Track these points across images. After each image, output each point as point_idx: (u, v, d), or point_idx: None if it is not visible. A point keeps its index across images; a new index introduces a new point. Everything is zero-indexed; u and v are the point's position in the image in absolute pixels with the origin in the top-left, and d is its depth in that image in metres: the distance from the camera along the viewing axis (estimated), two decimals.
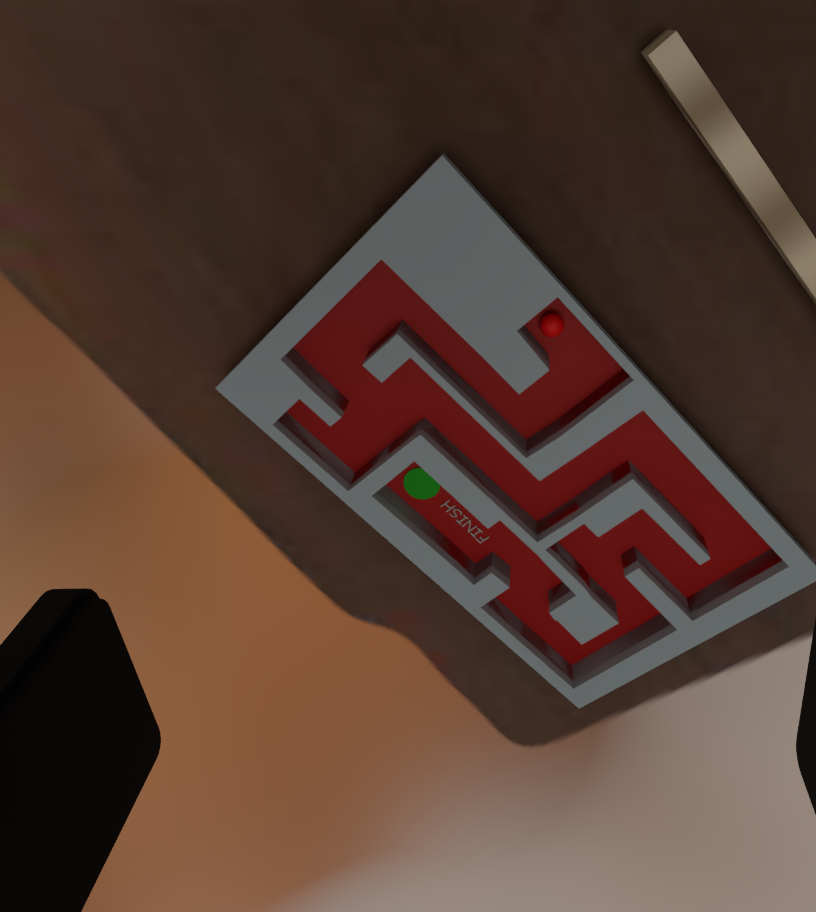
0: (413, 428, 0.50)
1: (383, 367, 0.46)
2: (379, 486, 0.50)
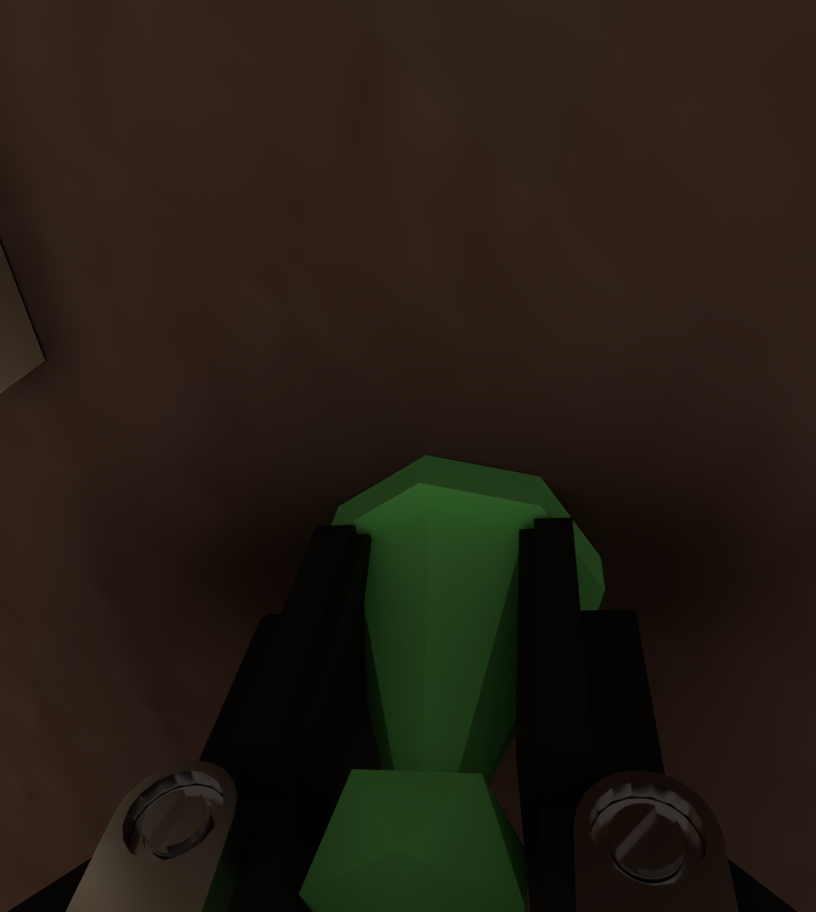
0: None
1: None
2: None
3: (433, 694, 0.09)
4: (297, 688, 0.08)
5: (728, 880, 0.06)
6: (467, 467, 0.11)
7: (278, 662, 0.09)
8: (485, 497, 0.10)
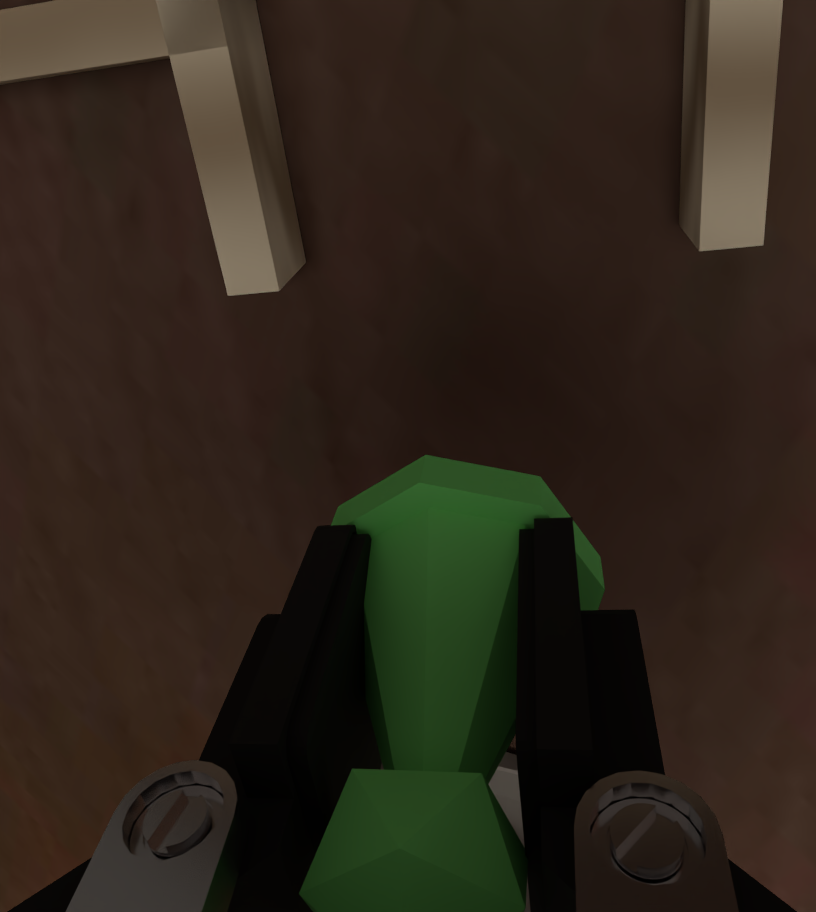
0: None
1: None
2: None
3: (433, 693, 0.09)
4: (297, 689, 0.08)
5: (728, 880, 0.06)
6: (467, 467, 0.11)
7: (278, 662, 0.09)
8: (485, 497, 0.10)
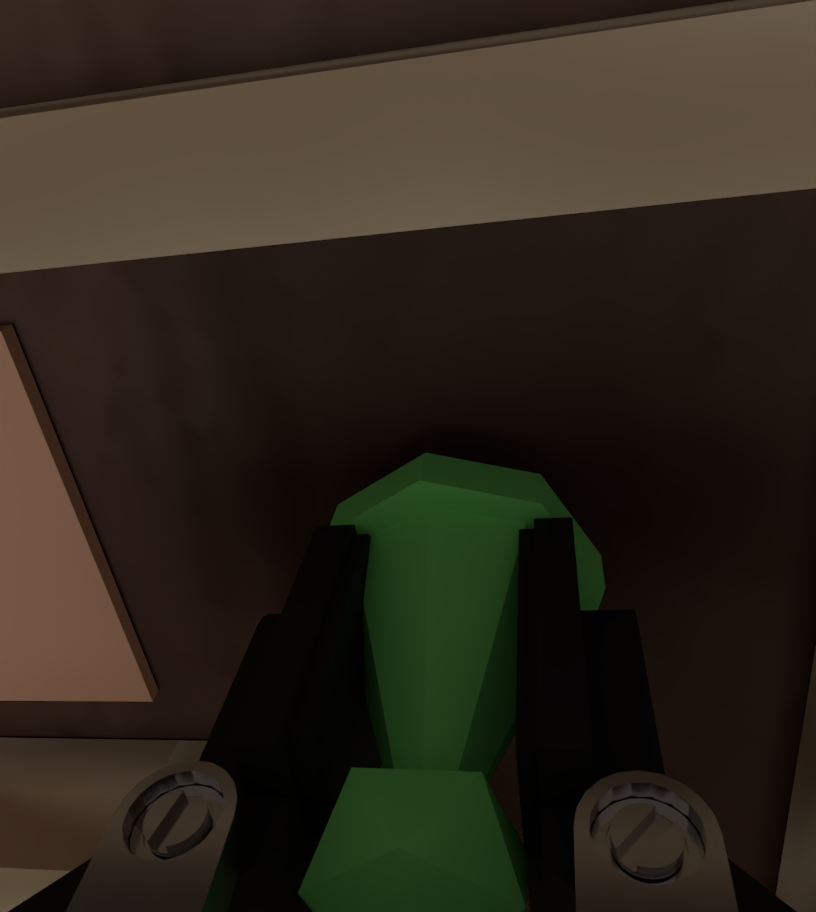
0: None
1: None
2: None
3: (433, 692, 0.09)
4: (296, 689, 0.08)
5: (728, 880, 0.06)
6: (466, 465, 0.11)
7: (278, 662, 0.09)
8: (485, 495, 0.10)
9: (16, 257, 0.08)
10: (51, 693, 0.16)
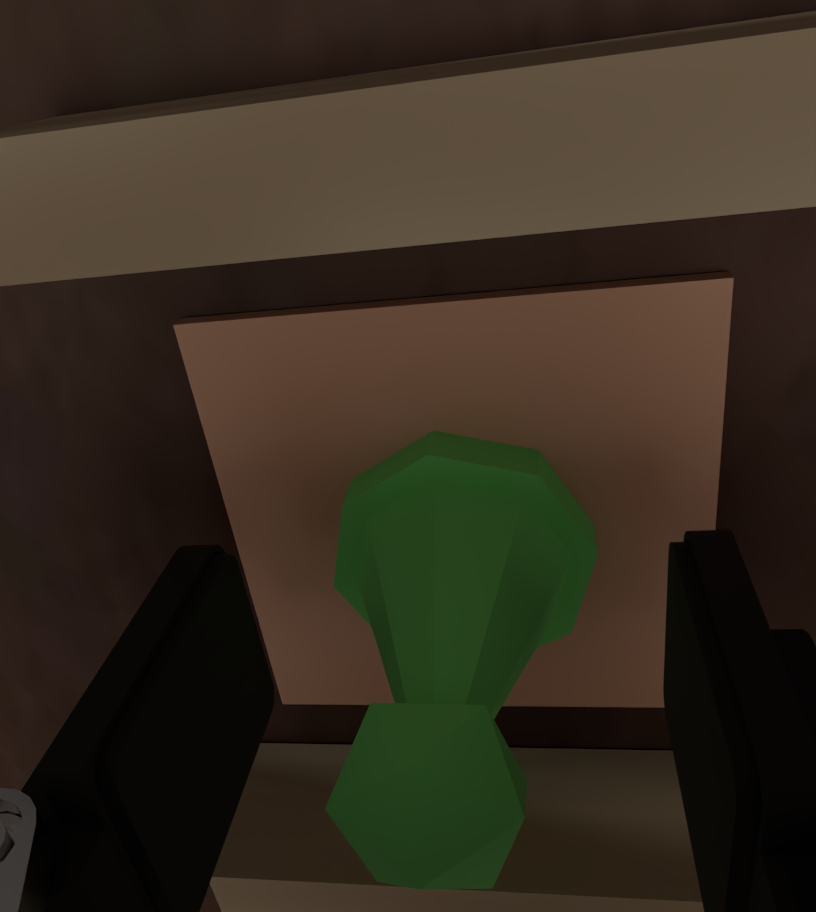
0: None
1: None
2: None
3: (441, 641, 0.10)
4: (113, 715, 0.08)
5: None
6: (470, 441, 0.12)
7: (103, 688, 0.09)
8: (487, 468, 0.11)
9: None
10: (578, 699, 0.14)
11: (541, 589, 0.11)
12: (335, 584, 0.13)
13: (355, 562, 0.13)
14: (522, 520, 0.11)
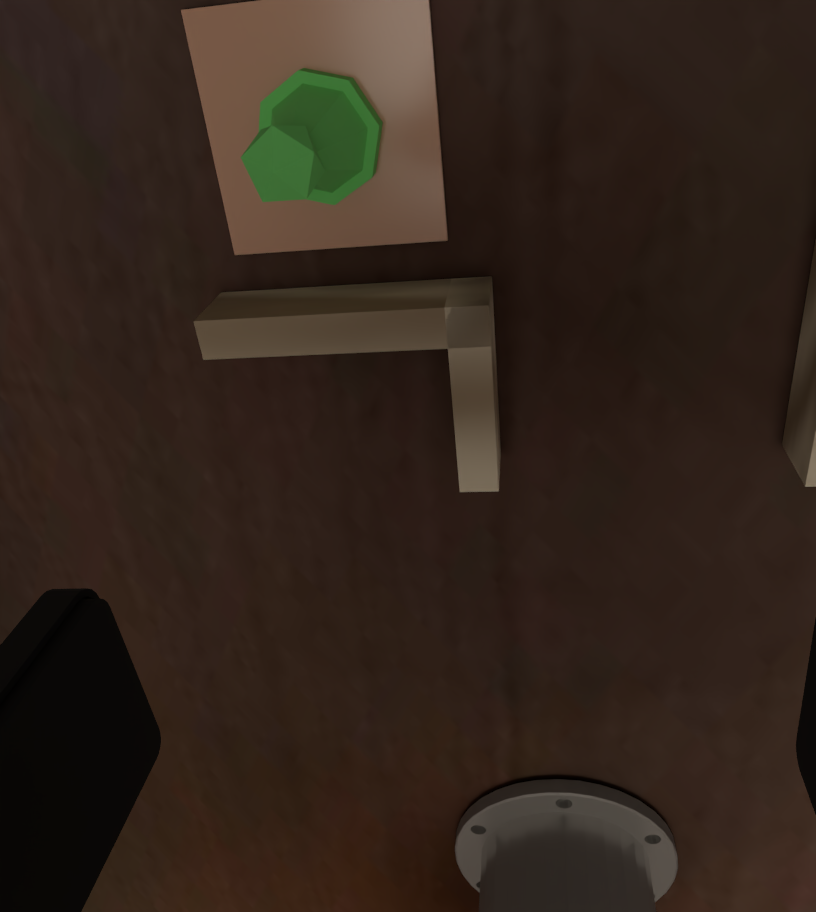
0: None
1: None
2: None
3: None
4: None
5: None
6: (320, 71, 0.25)
7: None
8: (325, 77, 0.25)
9: None
10: (386, 239, 0.28)
11: (347, 129, 0.25)
12: None
13: None
14: (339, 99, 0.25)
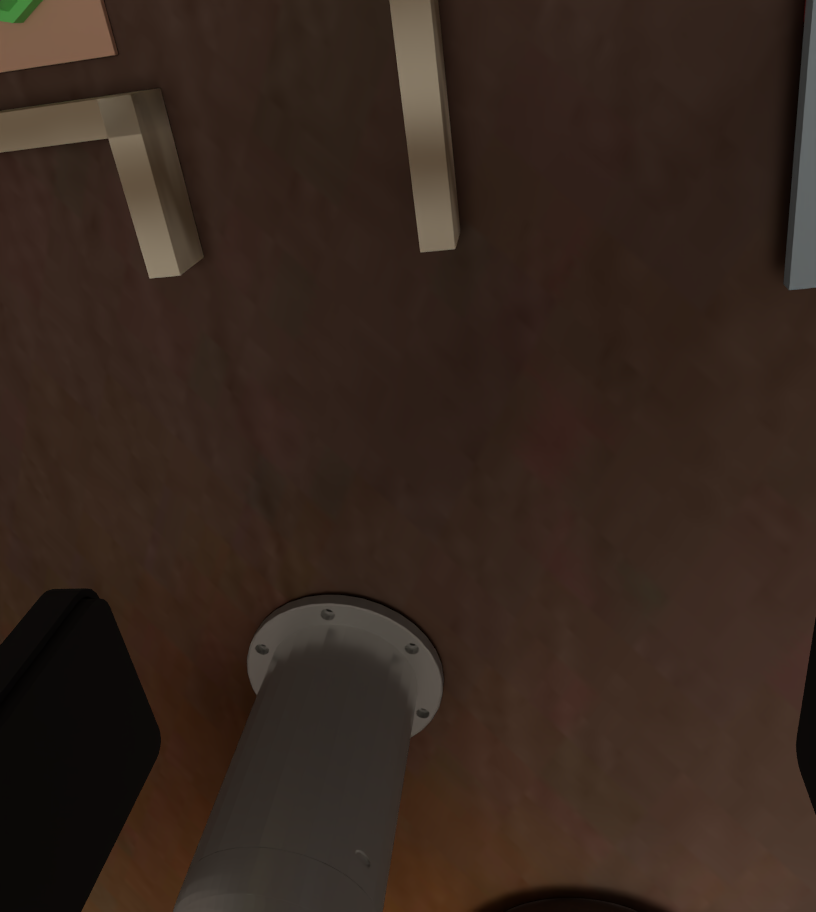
0: None
1: None
2: None
3: None
4: None
5: None
6: None
7: None
8: None
9: None
10: (67, 56, 0.34)
11: None
12: None
13: None
14: None
